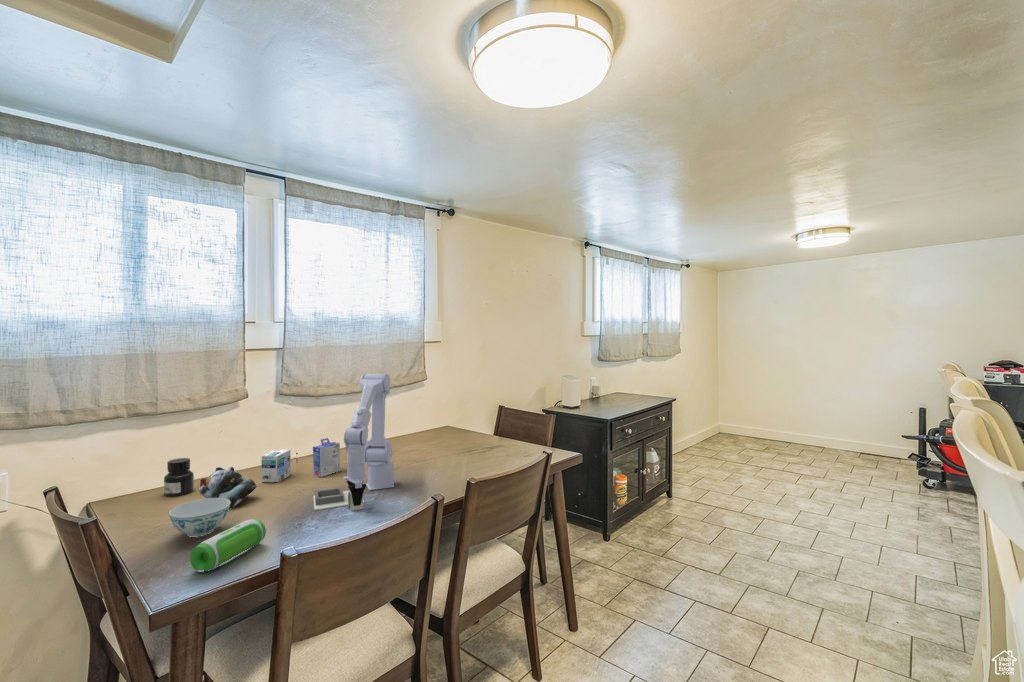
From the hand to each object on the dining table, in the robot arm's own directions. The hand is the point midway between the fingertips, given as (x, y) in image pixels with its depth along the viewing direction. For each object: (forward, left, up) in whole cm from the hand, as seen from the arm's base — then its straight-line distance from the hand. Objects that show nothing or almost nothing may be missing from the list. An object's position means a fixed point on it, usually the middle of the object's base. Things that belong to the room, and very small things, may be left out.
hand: (356, 502), depth 154 cm
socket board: (+5, -10, -2) cm, 11 cm away
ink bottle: (+58, -43, -2) cm, 72 cm away
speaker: (+34, +22, -2) cm, 41 cm away
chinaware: (+44, +1, -2) cm, 44 cm away
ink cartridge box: (+7, -45, -2) cm, 46 cm away
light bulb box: (+26, -46, -2) cm, 53 cm away
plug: (0, 0, -2) cm, 2 cm away
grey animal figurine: (+40, -23, -2) cm, 46 cm away
